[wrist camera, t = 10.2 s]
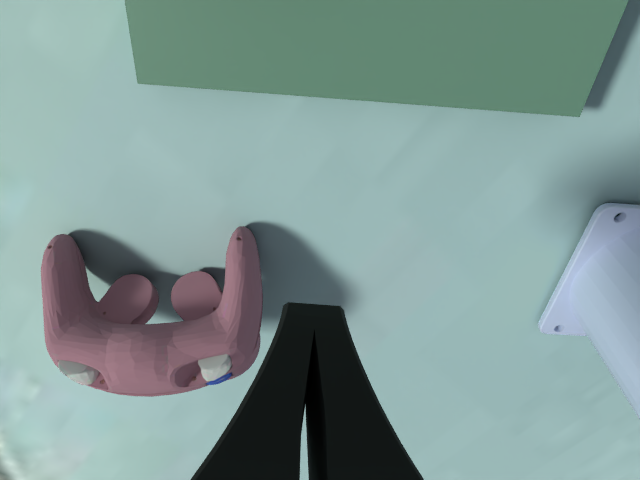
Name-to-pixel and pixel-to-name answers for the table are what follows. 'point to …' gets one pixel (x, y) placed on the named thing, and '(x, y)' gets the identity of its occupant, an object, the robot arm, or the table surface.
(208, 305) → the video game controller
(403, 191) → the table surface
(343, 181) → the table surface
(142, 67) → the board
